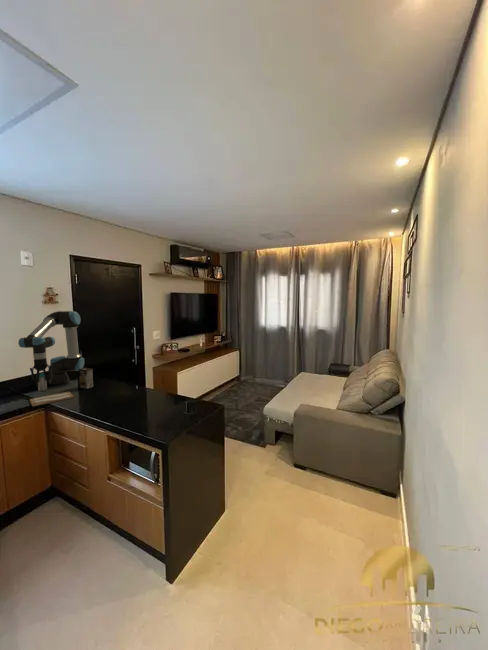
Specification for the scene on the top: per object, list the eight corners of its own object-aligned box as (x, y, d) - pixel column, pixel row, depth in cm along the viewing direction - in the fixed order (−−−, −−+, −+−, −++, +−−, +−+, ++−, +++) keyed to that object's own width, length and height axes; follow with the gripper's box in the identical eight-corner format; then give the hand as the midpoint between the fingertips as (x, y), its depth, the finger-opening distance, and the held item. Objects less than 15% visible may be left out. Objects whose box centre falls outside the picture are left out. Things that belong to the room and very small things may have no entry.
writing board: (29, 400, 215) (29, 398, 215) (69, 392, 232) (69, 391, 232) (32, 406, 203) (32, 405, 203) (73, 398, 220) (73, 396, 220)
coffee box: (79, 387, 245) (78, 369, 243) (86, 385, 251) (85, 367, 249) (87, 388, 241) (86, 370, 239) (93, 386, 247) (92, 368, 245)
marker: (39, 391, 210) (38, 373, 208) (45, 389, 213) (44, 373, 211) (40, 392, 207) (38, 375, 206) (46, 391, 210) (44, 374, 208)
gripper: (26, 361, 199) (29, 393, 202) (54, 357, 210) (56, 388, 213) (25, 359, 204) (28, 390, 207) (52, 355, 215) (55, 385, 218)
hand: (42, 389), depth 210 cm, fingers closed on marker, 3 cm apart
